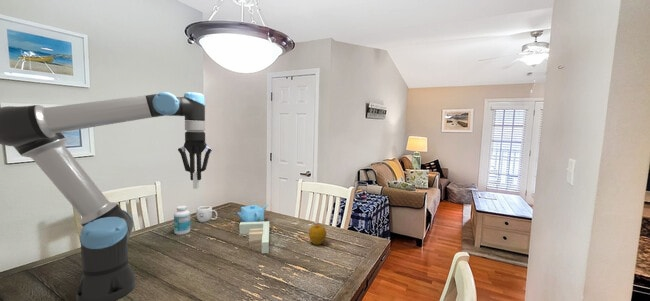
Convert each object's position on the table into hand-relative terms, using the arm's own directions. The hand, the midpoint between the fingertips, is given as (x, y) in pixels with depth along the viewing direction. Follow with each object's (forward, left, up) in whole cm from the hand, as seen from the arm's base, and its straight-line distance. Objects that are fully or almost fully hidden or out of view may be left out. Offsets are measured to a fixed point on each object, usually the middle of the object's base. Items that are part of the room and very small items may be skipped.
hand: (196, 187), depth 112 cm
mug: (+43, +5, -30) cm, 52 cm away
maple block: (+9, -24, -30) cm, 39 cm away
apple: (+5, -53, -30) cm, 61 cm away
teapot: (+33, -21, -30) cm, 49 cm away
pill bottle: (+27, +14, -30) cm, 42 cm away
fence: (+11, -22, -29) cm, 39 cm away
